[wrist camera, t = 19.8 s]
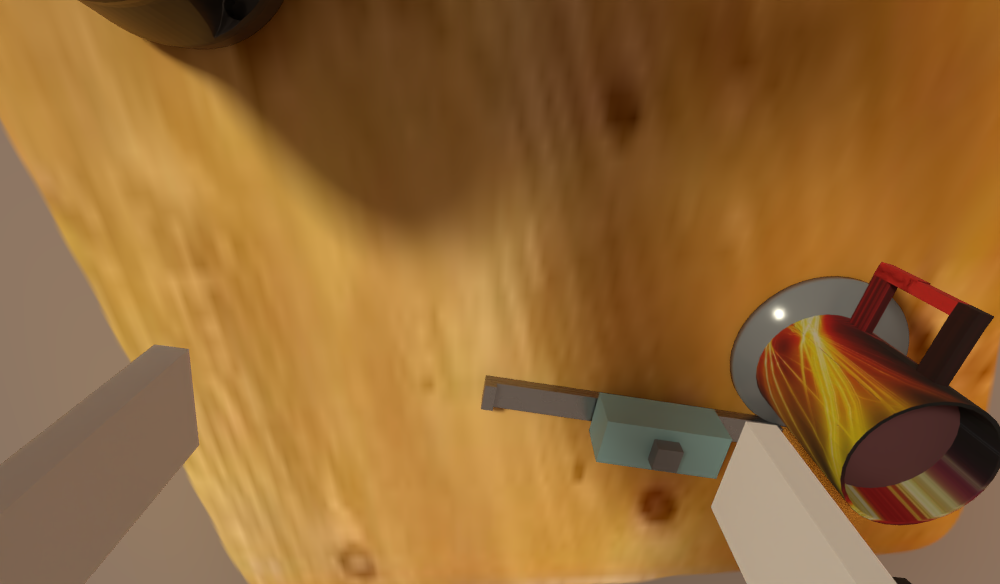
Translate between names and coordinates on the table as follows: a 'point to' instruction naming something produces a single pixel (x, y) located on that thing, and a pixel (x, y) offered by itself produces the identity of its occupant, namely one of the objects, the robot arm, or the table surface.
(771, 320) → the coaster
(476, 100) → the table surface
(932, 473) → the mug
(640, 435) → the latch block
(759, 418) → the rail
